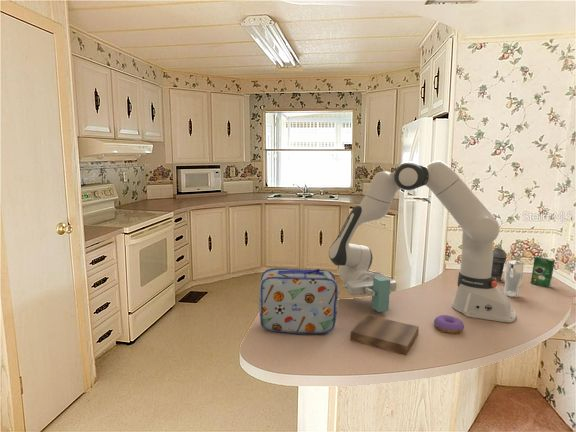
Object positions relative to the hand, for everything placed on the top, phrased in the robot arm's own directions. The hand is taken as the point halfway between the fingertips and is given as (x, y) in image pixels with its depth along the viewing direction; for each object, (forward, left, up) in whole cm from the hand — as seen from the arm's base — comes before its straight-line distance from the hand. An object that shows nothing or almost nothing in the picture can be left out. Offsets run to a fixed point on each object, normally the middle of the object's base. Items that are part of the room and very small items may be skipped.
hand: (382, 293), depth 151 cm
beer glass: (-42, -51, -8) cm, 67 cm away
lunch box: (+20, +29, -8) cm, 36 cm away
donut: (-24, -1, -9) cm, 26 cm away
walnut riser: (-7, +19, -8) cm, 21 cm away
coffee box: (-54, -75, -8) cm, 93 cm away
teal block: (+1, -1, -7) cm, 7 cm away
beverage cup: (-35, -72, -8) cm, 81 cm away
